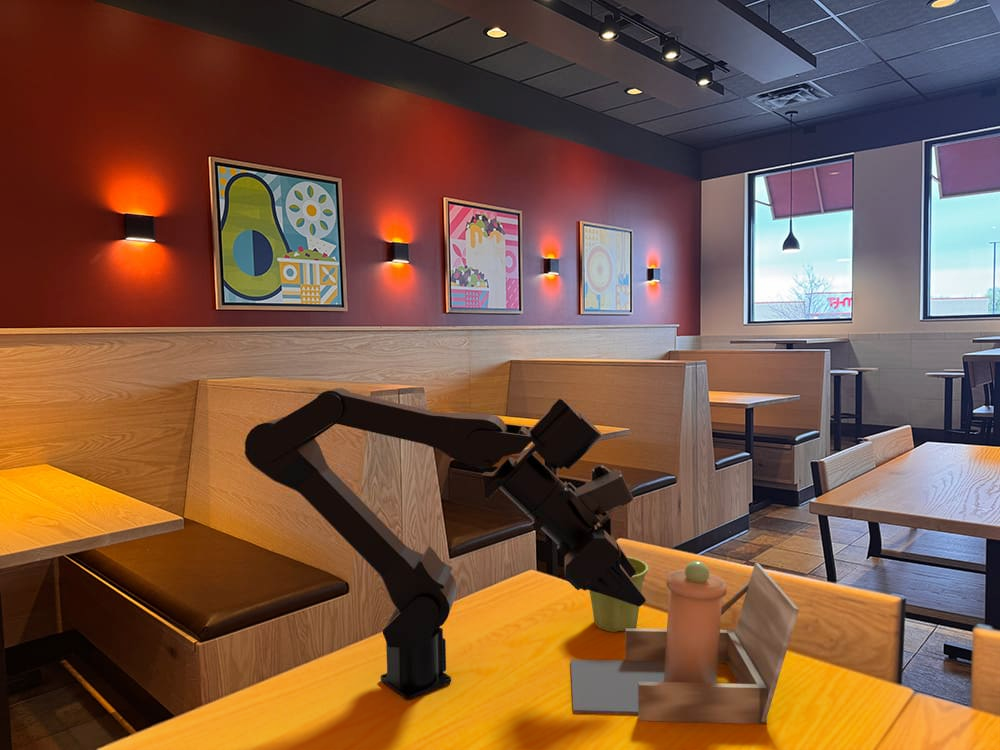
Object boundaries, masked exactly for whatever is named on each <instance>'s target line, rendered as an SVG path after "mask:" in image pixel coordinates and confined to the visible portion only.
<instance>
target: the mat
mask: <svg viewBox="0 0 1000 750" xmlns="http://www.w3.org/2000/svg"><path fill="white" fill-rule="evenodd" d="M664 667H665V662H663V661H626V660H611V659H610V660H605V659H604V660H603V659H601V660H599V659H570V675H571V691H572V692H571V693H572V710H573V713H575V714H577V713H578V714H579V713H580V714H585V713H586V714H615V715H616V714H618V715H638V682H664Z"/></svg>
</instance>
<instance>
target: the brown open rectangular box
mask: <svg viewBox="0 0 1000 750" xmlns="http://www.w3.org/2000/svg"><path fill="white" fill-rule="evenodd" d="M753 565H754V566H753V569H752V572H751V575H750V579H749V581H748V582H747V583H745V584H744V585H743V586H742V587H741V588H740V589H739V590H738V591H737V592H736V593H735V594H733V596H732V597H731V598H730V599H728V601H726V602H725V603H724V604H723V605H722V608H721V616H723V615H724V614H725V613H726V612H727V611H728V610H729V609H730V608H731V607H732V606H733V605H734V604H735V603H736V602H737V601H738V600H739V599H741V598H742V596H745V597H744V600H743V603H742V606H741V610H740V613H739V618H738V621H737V625H736V628H735V631H734V630H733V629H720V637H719V652H718V664H727V665H728V667H729V669H730V671H731V672H732V675H733V677H734V679H735V680H736V682H737V683H717V682H716V683H679V682H638V714H637V716H638V721H639V722H670V723H671V722H673V723H674V722H675V723H676V722H677V723H679V722H680V723H706V724H707V723H709V724H710V723H711V724H712V723H713V724H714V723H715V724H743V725H745V724H746V725H747V724H748V725H749V724H751V725H752V724H753V725H755V724H757V725H767V723H768V722H767V721H768V715H769V712H770V708H771V704H772V702H773V699H774V695H775V692H776V688H777V686H778V685H777V684H778V683H779V677H780V675H781V672H782V669H783V665H784V663H785V658H786V655H787V651H788V647H789V644H790V641H791V639H792V638H791V637H792V634H793V630H794V627H795V625H796V621H797V618H798V615H799V608H798V606H797V605H796V604H795V603H794V602H793V601H792V600H791V598H789V596H788V595H787V594H786V593H785V592H784V590H782V588H781V587H780V586H779V585H778V584H777V582H775V580H774V579H773V578H772V576H771V575H769V573H768V572H767V571H766V570H765V569H764V567H762V565H761V564H760V563H758V562H754V564H753ZM624 634H625V635H624V636H625V637H624V638H625V643H624V644H625V646H624V648H625V649H624V650H625V653H624V654H625V661H663V662H665V652H666V636H667V628H637V627H635V628H625V633H624Z"/></svg>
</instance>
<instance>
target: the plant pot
mask: <svg viewBox="0 0 1000 750" xmlns="http://www.w3.org/2000/svg"><path fill="white" fill-rule="evenodd" d="M626 557H627V558H628V560H629V561H630V563H631V564H632V566H633V567H634V569H635V570H636V573H635V574H634V575H633V576H632V577H631V580H632V581H633V582H634V584H635V585H636V586H637V588H638V589H639V590H640V592H641V593H642V589H643V583H644V581H645V577H646V575H647V574H648V572H649V565H648V564H647V563H646V562H645V561H643V560H641V559H638V558H634V557H631V556H626ZM588 591H589V595H590V596H589V597H590V600H591V601H590V603H591V609H592V615H593V621H594V623H595V625H596V627H597V628H599V629H600V630H604V631H606V632H610V633H611V632H612V633H616V632H619V631H625V628H637V625H638V620H639V619H638V618H639V612H640V611H639V610H640V607H639V606H636V605H633V604H630V603H627V602H624V601H621V600H618V599H616V598H613V597H610V596H607V595H603V594H600V593H597V592H593V591H590V590H588Z"/></svg>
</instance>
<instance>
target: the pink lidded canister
mask: <svg viewBox="0 0 1000 750" xmlns="http://www.w3.org/2000/svg"><path fill="white" fill-rule="evenodd" d="M665 586H666V588H667V589H668V590H669V591H668V592H669V593H668V605H667V606H668V608H667V622H666V629H667V636H666V652H665V667H664V682H679V683H717V680H718V679H717V677H718V676H717V675H718V664H719V663H718V652H719V637H720V630H721V622H722V621H721V620H722V619H721V618H722V615H721V608H722V606H723V605H722V604H723V598H724V597H725V596H726V595H727V589H728V588H727V587H728V583H727V582H726V580H725V579H723V578H722V577H720V576H718V575H715V574H714V573H710V571H709V568H708V566H707V565H706V564H705V563H704V562H702V561H700V560H694V561H691V562H689V563H688V564H687V565H686V566H685V568H684V569H678V570H673V571H670V572H668V573H667V575H666V582H665Z"/></svg>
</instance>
